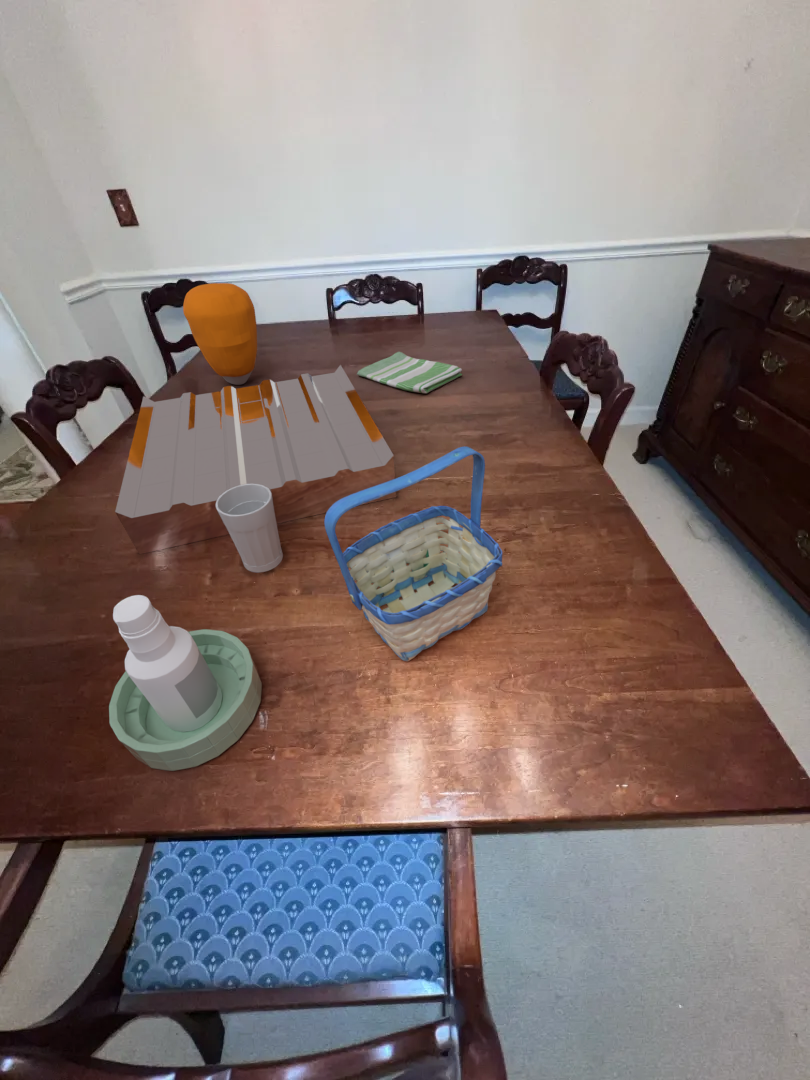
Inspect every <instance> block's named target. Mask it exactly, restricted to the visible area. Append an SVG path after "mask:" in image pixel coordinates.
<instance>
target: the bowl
mask: <svg viewBox="0 0 810 1080" xmlns="http://www.w3.org/2000/svg"><path fill="white" fill-rule="evenodd" d="M188 632H189V634H190V635H191V636H192V638H193V640H194V641H195V643H196V645H197V647H198V649H199V651H200V652H201V654H202V656H203V658H204V660H205V661H206V663H207V665H208V667H209V669H210V671H211V672H212V674H213V676H214V678H215V680H216V681H217V683H218V685H219V687H220V689H221V692H222V701H221V706H220V708H219V710H218V712H217V714H216V715H215V716H214V717H213V718H212V719H211V720H210V721H209V722H208V723H207V724H205V725H204V726H202V727H200V728H198V729H196V730H193V731H187V732H180V731H174V730H172V729H171V728H169V727H167V725H166V724H165V723H164V721H163V720H162V719H161V717H160V716H159V715H158V713H157V712H156V711H155V709H154V708H153V707H152V706H151V704H150V703H149V702H148V700H147V699H146V698H145V696H144V695H143V694H142V692H141V691H140V690H139V688H138V687H137V686H136V685H135V683H134V682H133V681H132V679H131V678H130V677H129V675H128V673H127V672H126V670H125V671H124V673H123V674H122V675H121V677H120V678H119V680H118V682H117V683H116V684H115V686H114V689H113V692H112V694H111V698H110V701H109V704H108V716H109V726H110V728H111V729H112V731H113V733H114V734H115V737H116V738H117V740H118V741H119V742H120V743H121V744H122V745H123V746H124V747H125V748H126V749H127V751H128V752H129V753H130V754H131V755H132V756H133V757H134V758H135V759H136V760H138V761H139V762H140V763H142V764H144V765H146V766H147V767H149V768H151V769H155V770H163V771H170V772H175V771H181V770H185V769H190V768H195V767H198V766H201V765H202V764H205V763H207V762H209V761H211V760H213V759H216V758H218V757H219V756H221V754H223V753H224V752H225V751H227V750H228V749H229V748H230V747H231V746H232V745H234V744H235V743H236V742H238V741H239V740H240V738H241V737H242V736H243V734H244V733H245V732H246V731H247V730H248V728H249V726H250V725H251V724H252V723H253V721H254V719H255V717H256V714H257V711H258V709H259V707H260V704H261V701H262V688H263V684H262V680H261V677H260V674H259V671H258V668H257V666H256V663H255V661H254V659H253V657H252V654H251V652H250V650H249V648H248V647H247V645H245V643H243V641H241V640H240V638H239V637H237V636H235V635H233V634H231V633H228V632H226V631H224V630H217V629H209V628H208V629H207V628H202V629H196V630H190V631H188Z"/></svg>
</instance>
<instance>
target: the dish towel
mask: <svg viewBox="0 0 810 1080" xmlns="http://www.w3.org/2000/svg"><path fill="white" fill-rule="evenodd" d="M462 371H463V370H462V368H461V367H459V366H458V365H454V364H450V363H444V362H439V361H434V360H433V361H432V360H428V359H423V358H415V357H411V356H409V355H406V354H405V353H403V352H402V351H397V352H395V353H393V354H392V355H391V356H388V357H387V358H386V357H385V358H383V359H380V360H378V361H376V362H373V363H372V364H368V365H366V366H364V367H362V368H361V369H359V370H358V371H357V373H356V375H357V376H359V377H363V378H366V379H368V380H371V381H374V382H376V383H379V384H382V385H387V386H389V387H392V388H396V389H399V390H403V391H406V392H410V393H411V392H412V393H418V394H419V393H420V394H428V393H430V392H432V391H434V390H435V389H438V388H440V387H442V386H444V385H446V384H448V383H450V382H452V381H453V380H456V379H457V378H459V377H461V376H463V373H461V372H462Z"/></svg>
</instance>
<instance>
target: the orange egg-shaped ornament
mask: <svg viewBox="0 0 810 1080" xmlns="http://www.w3.org/2000/svg"><path fill="white" fill-rule="evenodd" d="M182 311H183V316H184V317H185V319H186V321H187V323H188V326H189V330H190V332H191V334H192V337H193V339H194V341H195V344H196V345H197V347H198V349H199V351H200V352H201V353H202V356H203V358H204V359H205V361H206V363H207V364H208V365H209V366H210V368H211V369H212V370H213V371H214V372H215V373H216V374H217V375H218V377H219V376H220V377H221V378H222V379H223V380H225V381H226V382H227V383H229V384H231V385H234V386H241V385H244V384H246V383H247V381H248V380H249V378H250V377H251V374H252V373H253V371H254V370H255V367H256V360H257V354H258V328H257V317H256V310H255V306H254V303H253V301H252V299H251V296H250V295H249V293H248V292H247V291H246V290H245V289H243V288H242V287H240V286H238V285H236V284H234V283H229V282H221V283H220V282H212V283H205V284H199V285H197V286H195V287H192V288H191V289H189V291H188V292H187V293H186V294H185V296H184V299H183V305H182Z"/></svg>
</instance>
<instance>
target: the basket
mask: <svg viewBox="0 0 810 1080" xmlns="http://www.w3.org/2000/svg"><path fill="white" fill-rule="evenodd" d="M470 456H472V460H473V463H472V464H473V465H472V466H473V467H472V479H471V491H470V493H471V494H470V518H468V517H467V516H465V514H463V513H462V512H460V511H458V510H457V509H456V508H453V507H451V506H448V505H437V506H435V505H431V506H430V507H428V508H425V509H422V510H419V511H417V512H413V513H410V514H408V515H405V516H402V517H401V518H398V519H396V520H394V521H391V522H388V523H387V524H385V525H382V526H380V527H379V528H377V529H375V530H374V531H371V532H369V533H368V534H367V535H365V536H363V537H361V538H360V539H358V540H357V541H355V542H353V544H351V545H349V546H348V547H347V548H346V549H345V550H344V551H342V548H341V545H340V542H339V539H338V536H337V533H336V526H337V523H338V521H339V520H340V519H341V518H342V516H343V515H344V514H345V513H347V512H349V511H350V510H352V509H354V508H356V507H358V506H362V505H361V504H363V505H365V504H364V503H366V502H369V501H372V500H374V499H377V498H380V497H383V496H385V495H388V494H391V493H393V492H396V493H397V492H398V491H401V490H404V489H406V488H408V487H412V486H414V485H415V484H418V483H420V482H421V481H423V480H427V479H428V478H430V477H432V476H434V475H435V474H438V473H439V472H441V471H443V470H445V469H446V468H449V467H450V466H452V465H454V464H456V463H458V462H460V461H461V460H462V461H463V459H466V458H467V457H470ZM485 472H486V461H485V457H484V455H483V454H482V453H481V452H479V451H477V450H475V449H473V448H471V446H466V445H465V446H460V447H457V448H455V449H453V450H451V451H450V452H448V453H446V454H444V455H442V456H440V457H439V458H436V459H435V460H432V461H430V462H429V463H427V464H425V465H423V466H421V467H419V468H417V469H415V470H412V471H410V472H408V473H406V474H404V475H401V476H399V477H395V479H393V480H390V481H388V482H385V483H382V484H379V485H377V486H374V487H371V488H368V489H365V490H362V491H359V492H357V493H354V494H351V495H349V496H346V497H344V498H342V499H340V500H338V501H337V502H335V503H334V504H333V505H332V506H331V507H330V508H329V510H328V511H327V513H325V517H324V521H323V523H324V529H325V533H326V535H327V538H328V541H329V543H330V546H331V549H332V552H333V554H334V557H335V559H336V562H337V564H338V566H339V569H340V572H341V575H342V577H343V580H344V582H345V585H346V589H347V591H348V595H349V597H350V600H351V602H352V604H353V605H354V606H355V607H356V608H357V610H358V611H363V616H364V618H365V619H366V621H367V622H368V623H370V624H371V626H372V627H373V629H374V632H375V633H376V634H377V635H378V636H379V637H380V638H381V640H382V641H383V643H384V644H386V645H387V646H388V647H389V648H390V649H391V651H393V653H394V654H395V655H396V656H397V657H398V658H399V659H400V660H401V661H404V662H409V661H411V660H412V659H414V658H416V656H417V655H419V654H420V653H421V652H422V651H425V650H427V649H430V648H432V647H433V646H434V645H435V644H437V642H438V641H439V640H440V639H442V638H445V637H446V636H447V635H450V634H452V633H453V632H455V631H461V630H463V629H464V628H465V627H467V626H468V625H469V624H471V622H473V620H474V619H477V618H479V617H481V616H482V615H484V614H485V613H487V612H488V610H489V597H490V596H489V595H490V593H491V592H492V590H493V583H494V581H495V580H496V576H497V574H496V571H498V570H499V568H500V567H502V566H503V550H502V548H501V546H500V545H499V543H498V542H497V541H496V540H495V539H494V538H493V537H492V536H491V535H490V534H489V533H488V532H487V531H485V529H483V528H481V519H482V518H481V516H482V501H483V492H484V482H485ZM445 517H446V518H445ZM447 517H448V518H449V519H447ZM438 523H439V524H438ZM446 531H448V532H446ZM407 564H408V565H407ZM355 581H356V582H355ZM431 582H433V583H432V584H430V585H429V583H431ZM455 584H456V585H455ZM454 585H455V586H454ZM415 590H416V592H415ZM400 598H401V599H400ZM385 605H387V607H385V608H383V609H382V608H381V607H382V606H385Z"/></svg>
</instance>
